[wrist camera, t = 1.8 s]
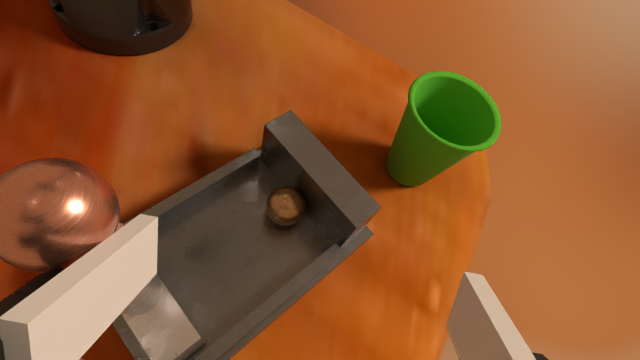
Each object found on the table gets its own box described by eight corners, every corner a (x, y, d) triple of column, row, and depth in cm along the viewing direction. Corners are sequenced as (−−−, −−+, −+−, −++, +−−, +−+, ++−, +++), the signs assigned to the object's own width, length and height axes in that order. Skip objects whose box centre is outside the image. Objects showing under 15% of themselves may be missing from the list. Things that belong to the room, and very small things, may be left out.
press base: (170, 410, 28) (151, 419, 21) (78, 264, 31) (37, 234, 24) (368, 239, 37) (397, 209, 31) (282, 142, 41) (292, 98, 34)
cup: (453, 163, 44) (513, 105, 35) (424, 218, 40) (484, 169, 30) (390, 122, 45) (432, 55, 36) (355, 172, 41) (392, 110, 31)
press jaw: (163, 377, 27) (33, 376, 9) (94, 270, 29) (-115, 106, 12) (211, 339, 29) (178, 276, 11) (142, 241, 31) (24, 60, 13)
